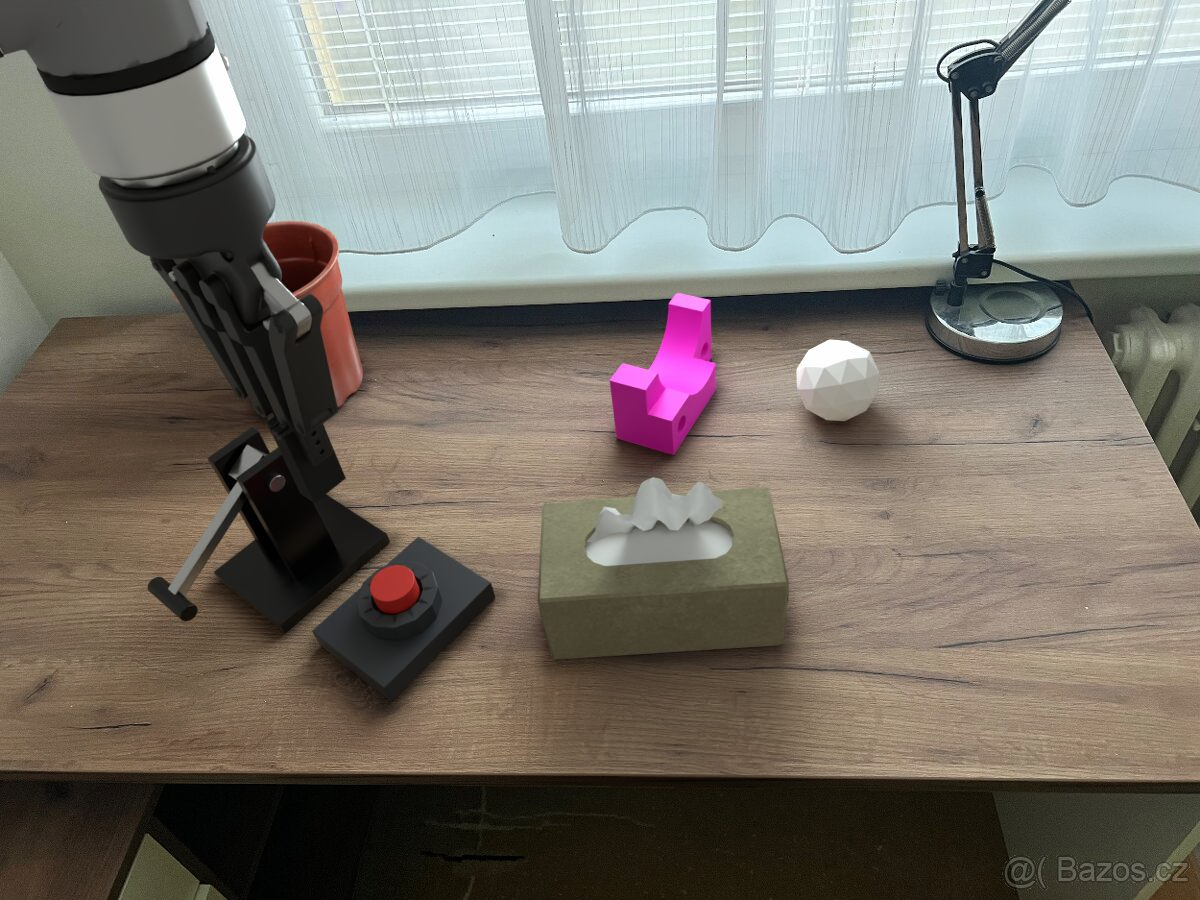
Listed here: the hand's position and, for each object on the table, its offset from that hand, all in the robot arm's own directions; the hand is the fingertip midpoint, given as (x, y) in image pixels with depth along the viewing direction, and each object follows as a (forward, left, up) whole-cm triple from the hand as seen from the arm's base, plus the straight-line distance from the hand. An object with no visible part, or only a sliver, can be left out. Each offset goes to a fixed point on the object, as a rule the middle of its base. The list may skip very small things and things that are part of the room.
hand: (323, 485), depth 59 cm
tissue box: (+16, -16, -19) cm, 29 cm away
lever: (-3, +14, -11) cm, 18 cm away
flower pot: (+17, +34, -19) cm, 42 cm away
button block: (+2, +1, -19) cm, 19 cm away
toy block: (+37, -2, -19) cm, 42 cm away
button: (+2, +1, -15) cm, 16 cm away
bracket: (+1, +14, -19) cm, 24 cm away
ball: (+44, -16, -19) cm, 51 cm away
